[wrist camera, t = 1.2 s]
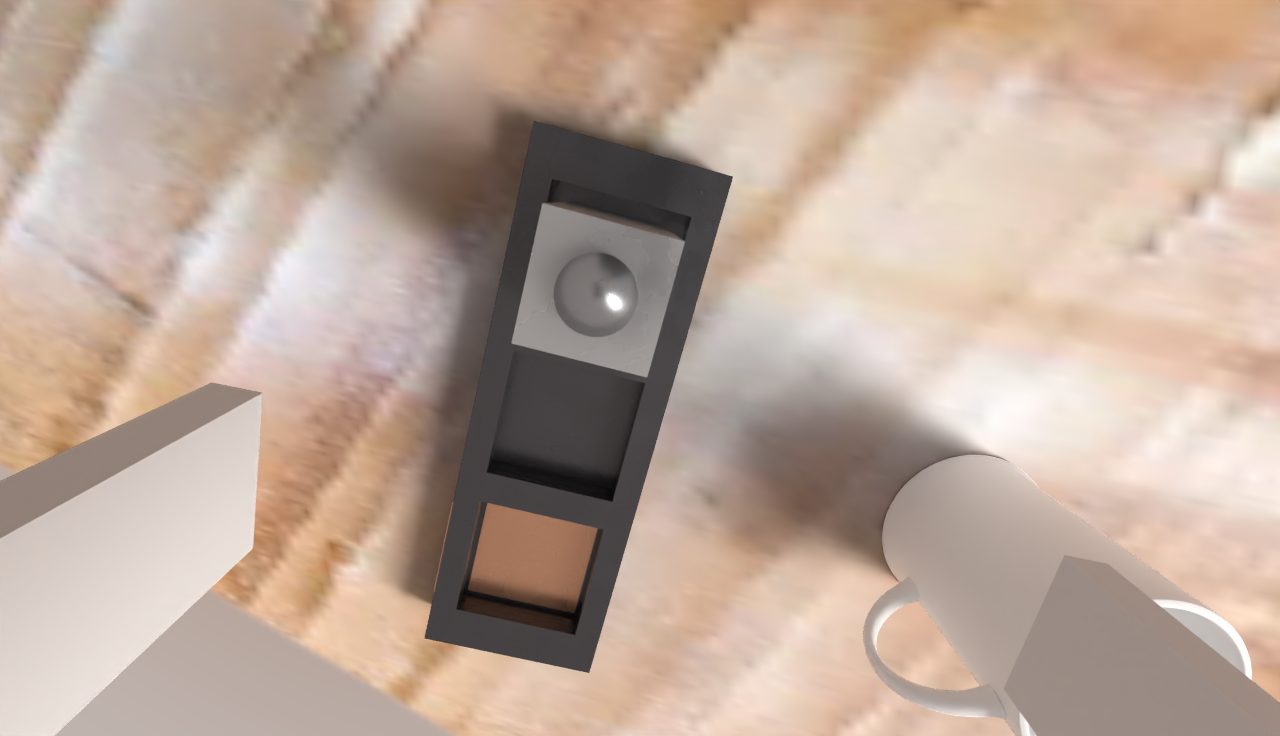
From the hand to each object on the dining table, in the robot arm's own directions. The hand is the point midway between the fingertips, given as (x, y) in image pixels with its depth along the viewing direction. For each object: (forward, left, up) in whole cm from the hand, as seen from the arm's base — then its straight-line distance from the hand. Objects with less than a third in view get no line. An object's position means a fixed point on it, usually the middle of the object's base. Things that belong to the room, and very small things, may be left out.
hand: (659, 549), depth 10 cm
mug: (+7, +18, -21) cm, 29 cm away
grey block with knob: (-2, -2, -20) cm, 20 cm away
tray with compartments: (+5, -2, -21) cm, 22 cm away
